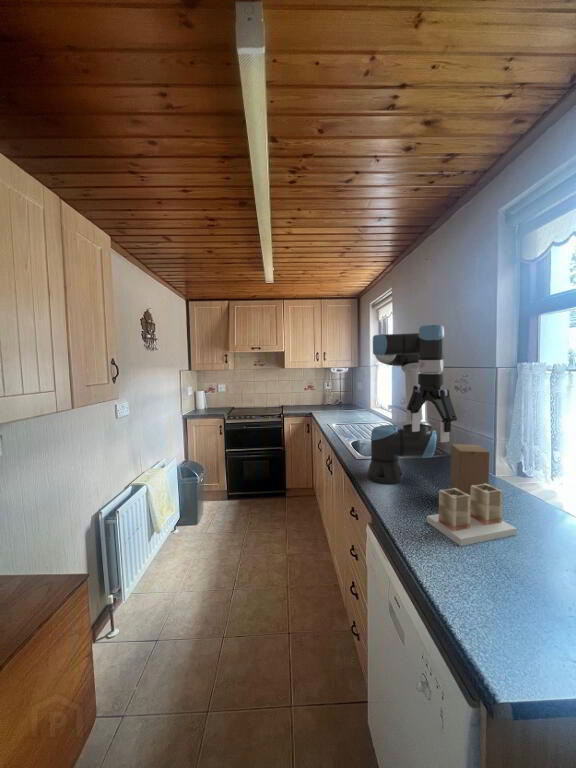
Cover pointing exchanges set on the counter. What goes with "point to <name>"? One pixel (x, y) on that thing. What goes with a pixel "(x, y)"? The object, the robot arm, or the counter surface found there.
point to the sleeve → (454, 509)
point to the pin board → (474, 530)
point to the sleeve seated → (486, 504)
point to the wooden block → (468, 466)
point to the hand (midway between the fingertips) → (429, 436)
